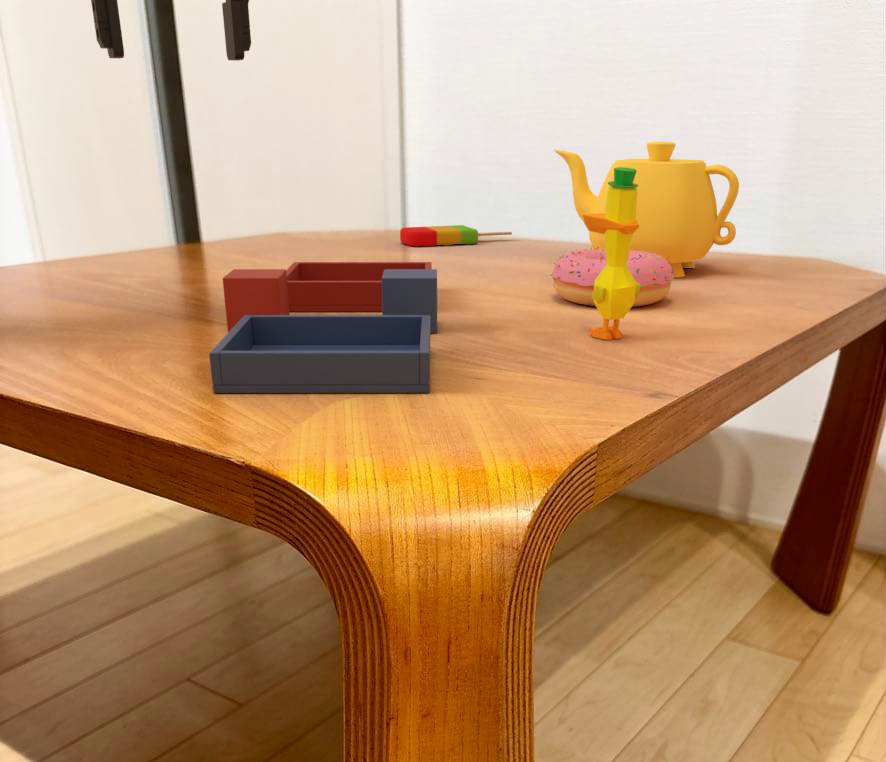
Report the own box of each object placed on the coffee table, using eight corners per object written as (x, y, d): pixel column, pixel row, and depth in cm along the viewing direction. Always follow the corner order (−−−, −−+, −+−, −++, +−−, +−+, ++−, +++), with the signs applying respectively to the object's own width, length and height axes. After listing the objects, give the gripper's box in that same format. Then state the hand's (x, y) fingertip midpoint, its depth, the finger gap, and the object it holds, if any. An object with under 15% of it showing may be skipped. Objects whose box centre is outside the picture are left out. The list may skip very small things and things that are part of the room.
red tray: (277, 311, 78) (275, 281, 77) (295, 288, 88) (293, 261, 87) (431, 311, 78) (431, 281, 77) (431, 288, 88) (431, 261, 87)
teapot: (720, 284, 90) (738, 144, 85) (529, 271, 98) (534, 142, 92) (739, 265, 102) (755, 141, 96) (566, 255, 109) (573, 138, 104)
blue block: (382, 333, 71) (381, 277, 69) (385, 322, 74) (384, 269, 73) (437, 333, 71) (437, 277, 69) (437, 322, 74) (437, 269, 73)
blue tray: (213, 393, 56) (208, 352, 55) (247, 349, 66) (244, 314, 65) (429, 393, 56) (429, 352, 55) (430, 349, 66) (430, 314, 65)
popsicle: (397, 242, 120) (397, 227, 119) (502, 237, 124) (503, 223, 123) (410, 247, 115) (410, 232, 114) (519, 242, 120) (520, 227, 119)
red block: (227, 333, 70) (222, 277, 69) (238, 322, 74) (233, 269, 72) (282, 333, 71) (278, 277, 69) (290, 322, 74) (286, 269, 73)
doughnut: (566, 285, 90) (569, 241, 88) (679, 293, 86) (684, 247, 85) (536, 305, 81) (538, 256, 79) (661, 314, 77) (666, 263, 75)
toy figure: (561, 329, 72) (570, 165, 67) (598, 325, 73) (610, 164, 68) (612, 347, 66) (627, 170, 61) (651, 342, 68) (668, 168, 63)
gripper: (236, -195, 65) (257, 63, 71) (20, -226, 58) (65, 59, 65) (271, -226, 59) (289, 59, 66) (33, -265, 52) (81, 54, 59)
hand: (177, 59), depth 65 cm, fingers open, 8 cm apart
